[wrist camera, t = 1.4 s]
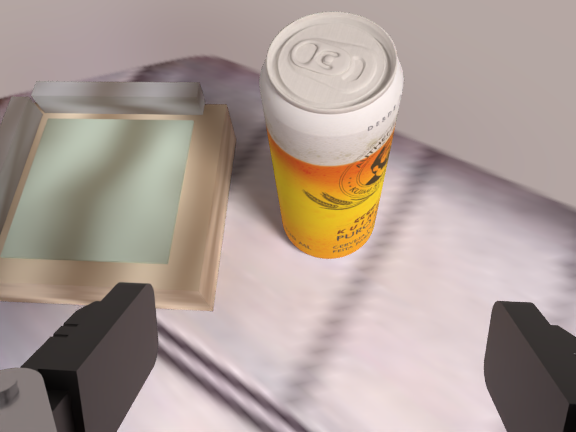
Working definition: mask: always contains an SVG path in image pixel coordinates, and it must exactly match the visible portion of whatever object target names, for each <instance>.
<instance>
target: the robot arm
mask: <svg viewBox="0 0 576 432" xmlns="http://www.w3.org/2000/svg"><path fill="white" fill-rule="evenodd" d="M157 353H158V332H157V320H156V307H155V295H154V289H153V287H152V285H151V284H149V283H128V282H119V283H117V284H116V285H115V286H114V287H113V288H112V289H111V291H110V292H109V293H108V294H107V295H106V296H105V297H104V298H103V299H102V300H101V301H94V302H92V303H90V304H89V305H87V306H85V307H83V308H81V309H79V310H77V311H76V312H75V313H74V314H73V315H72V316H71V317H70V318H69V319H68V320H67V321H66V322H65V323H64V326H61V327H60V328H59V329H58V330H57V331H56V332H55V333H54V334H53V337H50V338H49V339H48V340H47V341H46V342H45V343H44V344H43V345H42V346H41V347H40V348H39V349H38V350H37V351H36V352H35V353H34V354H33V355H32V356H31V357H30V358H29V359H28V360H27V361H26V362H25V363H24V364H23V365H22V366H21V367H20V368H10V369H4V370H0V432H117V430H118V428H119V426H120V425H121V423H122V421H123V419H124V418H125V416H126V414H127V412H128V411H129V409H130V407H131V405H132V404H133V402H134V400H135V398H136V397H137V395H138V393H139V391H140V390H141V388H142V386H143V384H144V383H145V381H146V379H147V377H148V376H149V374H150V372H151V370H152V369H153V367H154V364H155V361H156V358H157ZM484 376H485V382H486V386H487V389H488V391H489V393H490V396H491V398H492V400H493V402H494V404H495V406H496V409H497V411H498V413H499V415H500V417H501V419H502V422H503V424H504V426H505V428H506V430H507V432H576V337H575V336H573V335H572V334H570V333H569V332H567V331H566V330H564V329H562V328H561V327H559V326H558V325H550V324H549V322H548V321H547V320H546V319H545V317H544V316H543V315H542V314H541V312H540V311H539V310H538V309H537V307H536V306H535V305H534V304H533V303H530V302H509V301H496V302H495V304H494V306H493V309H492V314H491V320H490V326H489V333H488V339H487V346H486V352H485V359H484Z"/></svg>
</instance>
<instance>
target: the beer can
mask: <svg viewBox="0 0 576 432" xmlns="http://www.w3.org/2000/svg"><path fill="white" fill-rule="evenodd" d="M259 85H260V93H261V99H262V104H263V110H264V116H265V122H266V128H267V134H268V140H269V146H270V152H271V157H272V163H273V169H274V175H275V181H276V187H277V193H278V199H279V205H280V211H281V216H282V222H283V227H284V230H285V233H286V235H287V236H288V238H289V240H290V241H291V242H292V243H293V244H294V245H295V246H296V247H297V248H298V249H300V250H301V251H303V252H304V253H306V254H308V255H311V256H314V257H318V258H324V259H334V258H340V257H344V256H347V255H349V254H351V253H353V252H355V251H357V250H358V249H359V248H361V247H362V246H363V245H364V244H365V243H366V242H367V240H368V239H369V237H370V235H371V234H372V231H373V228H374V224H375V220H376V215H377V210H378V205H379V201H380V196H381V191H382V186H383V182H384V177H385V172H386V167H387V162H388V158H389V153H390V148H391V143H392V139H393V134H394V129H395V124H396V119H397V115H398V110H399V105H400V101H401V96H402V91H403V85H404V74H403V70H402V66H401V64H400V61H399V59H398V57H397V51H396V48H395V45H394V43H393V41H392V39H391V38H390V36H389V35H388V34H387V33H386V32H385V31H384V30H383V29H382V28H381V27H380V26H379V25H377V24H376V23H374V22H372V21H371V20H369V19H367V18H364V17H362V16H359V15H355V14H351V13H345V12H321V13H316V14H311V15H308V16H305V17H302V18H300V19H298V20H296V21H294V22H292V23H290V24H289V25H287V26H286V27H285V28H283V29H282V30H281V31H280V32H279V33H278V34H277V36H276V37H275V38H274V39H273V41H272V43H271V44H270V47H269V49H268V52H267V56H266V60H265V62H264V64H263V66H262V69H261V73H260V79H259Z"/></svg>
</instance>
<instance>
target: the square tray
mask: <svg viewBox="0 0 576 432" xmlns="http://www.w3.org/2000/svg"><path fill="white" fill-rule="evenodd" d="M31 96H32V97H33V99H34V100H35V101H36V102H37V103H34V102H33V101H32V100H31V99H30V97H11V100H10V102H9V105H8V107H7V110H6V112H5V115H4V117H3V120H2V122H1V125H0V301H9V302H31V303H52V304H73V305H89V304H90V303H92V302H94V301H101V300H102V299H103V298H104V297H105V296H106V295H107V294H108V293H109V292H110V291H111V289H112V288H113V287H114V286H115V285H116V284H117V283H119V282H128V283H149V284H151V285H152V287H153V289H154V295H155V307H156V308H159V309H180V310H201V311H213V307H214V299H215V292H216V285H217V277H218V270H219V262H220V255H221V248H222V240H223V233H224V225H225V218H226V211H227V203H228V196H229V188H230V181H231V173H232V166H233V159H234V151H235V144H236V137H235V134H234V130H233V126H232V122H231V119H230V115H229V111H228V107H227V105H226V104H205V98H204V95H203V92H202V89H201V86H200V83H199V82H59V81H56V82H54V81H50V82H49V81H37V82H36V84H35V87H34V89H33V92H32V94H31Z"/></svg>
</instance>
